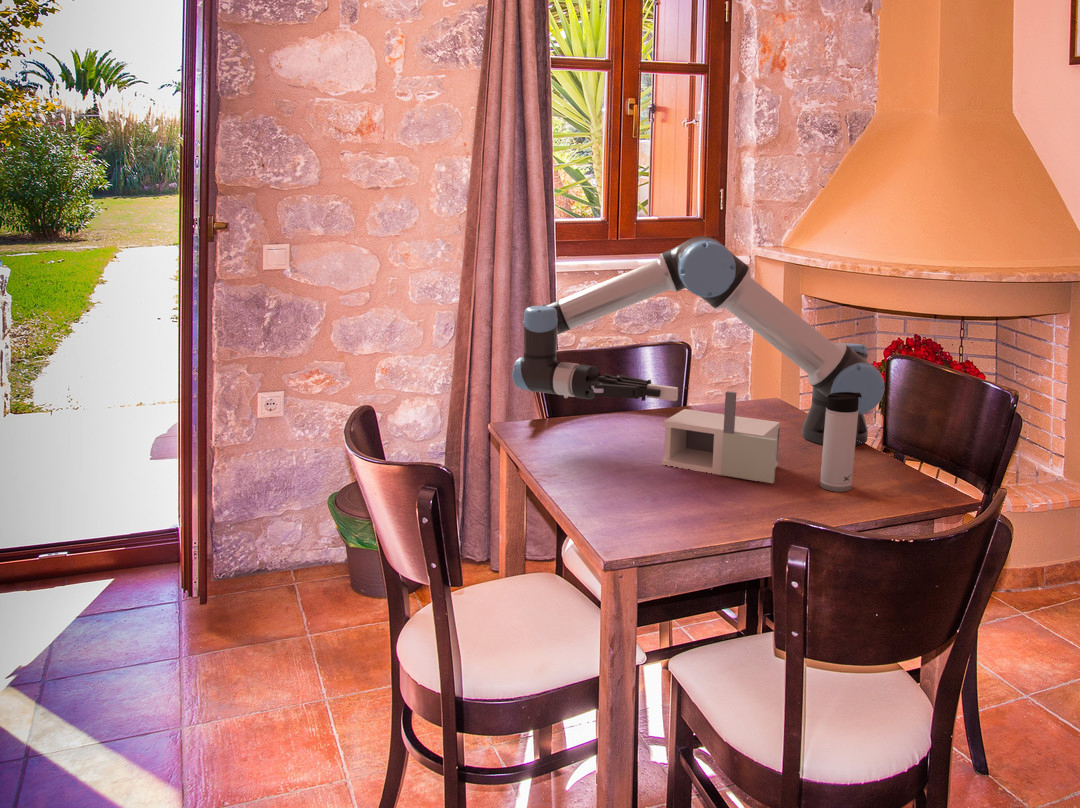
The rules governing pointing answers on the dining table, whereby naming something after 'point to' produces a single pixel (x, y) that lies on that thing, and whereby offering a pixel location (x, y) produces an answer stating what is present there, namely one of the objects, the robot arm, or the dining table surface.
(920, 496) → the dining table surface
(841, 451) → the travel mug
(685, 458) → the cream case
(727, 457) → the side door
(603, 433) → the dining table surface
